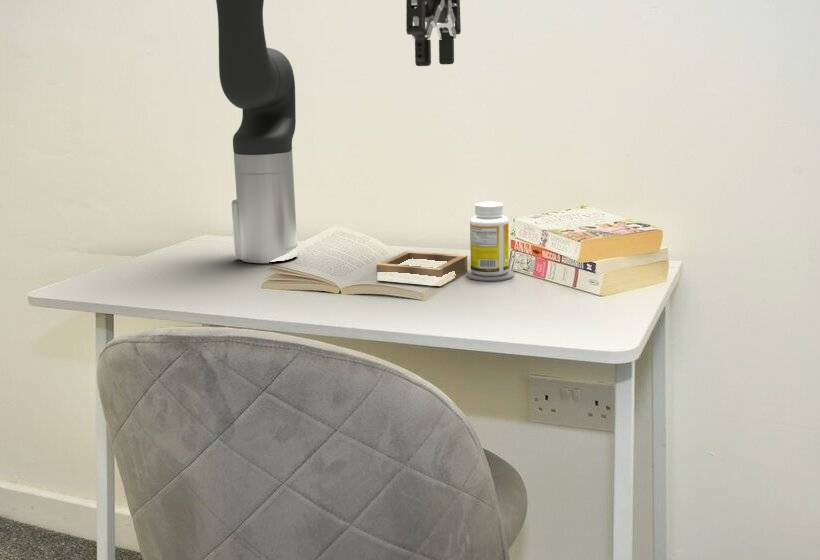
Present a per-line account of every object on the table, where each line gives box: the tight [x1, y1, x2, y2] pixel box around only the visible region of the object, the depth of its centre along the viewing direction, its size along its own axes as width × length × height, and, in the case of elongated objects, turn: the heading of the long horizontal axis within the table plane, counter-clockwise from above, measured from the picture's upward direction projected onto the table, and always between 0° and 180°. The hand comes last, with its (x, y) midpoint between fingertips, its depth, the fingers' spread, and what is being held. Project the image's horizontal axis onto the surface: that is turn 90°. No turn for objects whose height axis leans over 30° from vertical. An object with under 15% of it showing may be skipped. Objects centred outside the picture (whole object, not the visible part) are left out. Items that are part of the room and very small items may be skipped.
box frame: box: [376, 250, 469, 279], centre depth 140 cm, size 10×10×2 cm
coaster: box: [465, 269, 515, 282], centre depth 140 cm, size 7×7×1 cm
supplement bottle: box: [469, 201, 510, 276], centre depth 139 cm, size 6×6×10 cm
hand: (435, 65), depth 143 cm, fingers open, 8 cm apart
